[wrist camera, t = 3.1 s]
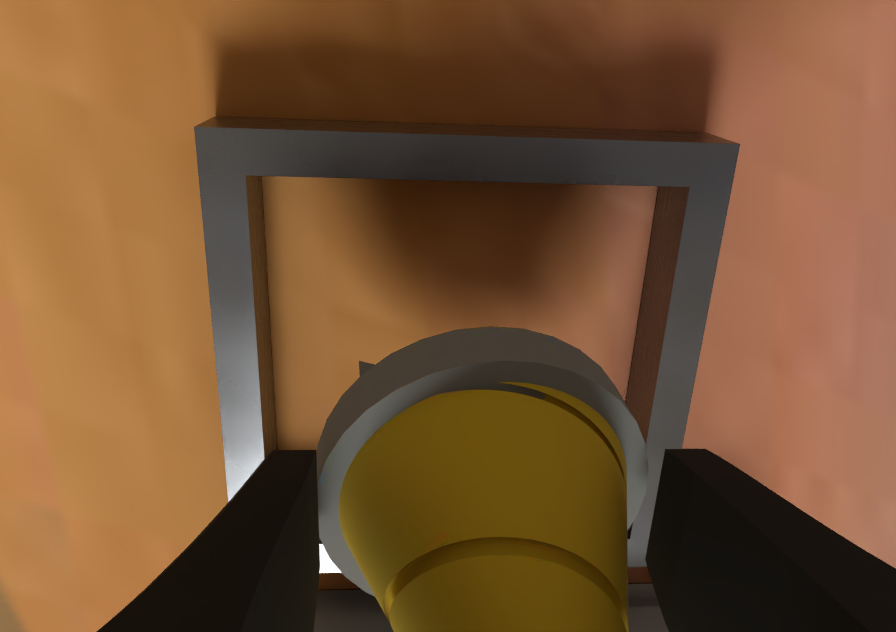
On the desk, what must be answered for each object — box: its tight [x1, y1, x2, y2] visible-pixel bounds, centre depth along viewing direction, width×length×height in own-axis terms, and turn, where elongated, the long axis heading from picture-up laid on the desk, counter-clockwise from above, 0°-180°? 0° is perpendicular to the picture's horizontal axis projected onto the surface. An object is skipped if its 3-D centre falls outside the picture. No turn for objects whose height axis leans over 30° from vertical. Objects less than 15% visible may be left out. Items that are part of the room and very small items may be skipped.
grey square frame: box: [194, 117, 740, 573], centre depth 15 cm, size 10×10×2 cm
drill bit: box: [317, 326, 649, 632], centre depth 10 cm, size 5×5×10 cm
